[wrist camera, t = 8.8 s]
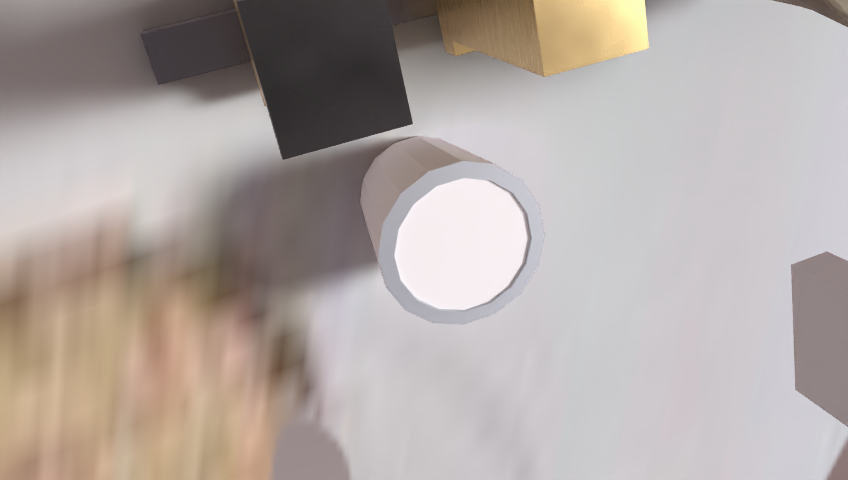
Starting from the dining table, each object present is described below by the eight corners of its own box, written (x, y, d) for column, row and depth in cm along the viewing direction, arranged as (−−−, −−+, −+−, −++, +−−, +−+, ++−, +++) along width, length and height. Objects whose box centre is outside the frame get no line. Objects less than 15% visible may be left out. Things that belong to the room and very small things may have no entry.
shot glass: (341, 129, 35) (373, 171, 28) (488, 116, 36) (548, 153, 30) (351, 271, 37) (382, 338, 31) (487, 253, 39) (544, 313, 32)
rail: (159, 79, 32) (158, 84, 31) (142, 30, 31) (140, 33, 30) (499, -7, 34) (509, -5, 33) (492, -54, 34) (502, -54, 33)
